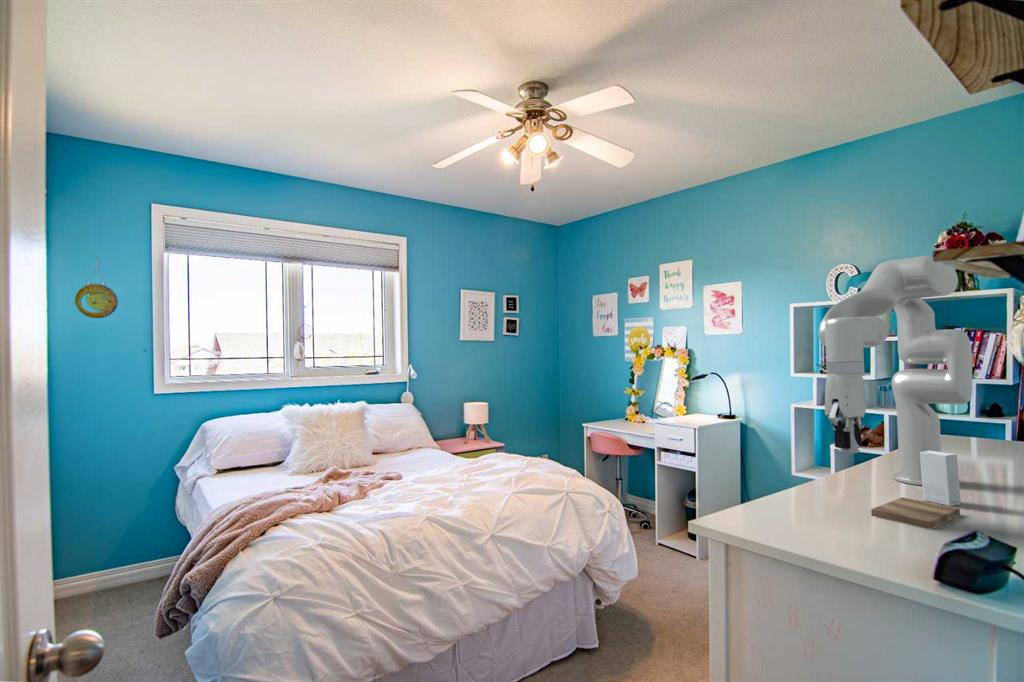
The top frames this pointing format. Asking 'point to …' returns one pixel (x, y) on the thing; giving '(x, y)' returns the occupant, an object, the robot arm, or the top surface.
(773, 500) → the top surface
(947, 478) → the skincare box
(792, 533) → the top surface
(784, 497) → the top surface
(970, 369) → the robot arm
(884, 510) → the walnut board
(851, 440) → the rook chess piece
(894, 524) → the top surface
